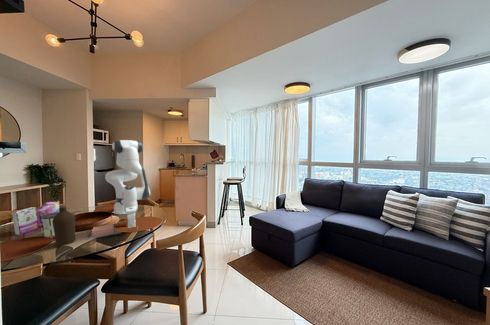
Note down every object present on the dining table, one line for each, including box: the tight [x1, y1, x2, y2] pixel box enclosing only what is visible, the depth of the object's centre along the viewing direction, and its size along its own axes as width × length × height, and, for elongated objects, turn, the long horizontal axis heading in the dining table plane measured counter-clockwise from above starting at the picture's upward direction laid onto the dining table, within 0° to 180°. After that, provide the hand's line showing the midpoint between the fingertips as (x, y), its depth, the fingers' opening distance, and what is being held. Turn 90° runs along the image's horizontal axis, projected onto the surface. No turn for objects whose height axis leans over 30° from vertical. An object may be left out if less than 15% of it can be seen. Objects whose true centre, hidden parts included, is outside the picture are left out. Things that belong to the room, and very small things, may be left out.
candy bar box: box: [11, 206, 40, 236], centre depth 146 cm, size 11×5×16 cm, turn 168°
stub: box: [127, 220, 137, 228], centre depth 152 cm, size 5×5×5 cm
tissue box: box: [42, 212, 59, 237], centre depth 142 cm, size 10×10×14 cm
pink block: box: [91, 223, 115, 237], centre depth 144 cm, size 7×12×4 cm, turn 120°
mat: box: [89, 230, 122, 240], centre depth 147 cm, size 12×28×1 cm, turn 120°
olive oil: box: [52, 204, 77, 247], centre depth 130 cm, size 11×11×25 cm
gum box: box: [36, 200, 61, 227], centre depth 165 cm, size 24×8×14 cm, turn 28°
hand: (131, 225), depth 153 cm, fingers closed on stub, 5 cm apart
